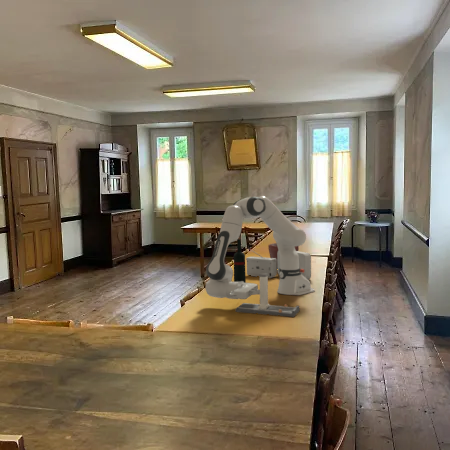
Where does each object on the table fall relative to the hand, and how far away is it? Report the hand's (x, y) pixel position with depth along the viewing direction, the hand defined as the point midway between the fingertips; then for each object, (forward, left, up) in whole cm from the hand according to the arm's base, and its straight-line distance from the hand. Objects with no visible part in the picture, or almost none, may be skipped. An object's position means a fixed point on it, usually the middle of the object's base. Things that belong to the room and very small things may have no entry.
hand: (260, 292), depth 230 cm
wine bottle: (-26, -64, -10) cm, 70 cm away
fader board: (-2, +3, -9) cm, 10 cm away
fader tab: (-1, +1, -8) cm, 8 cm away
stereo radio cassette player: (-49, -74, -10) cm, 90 cm away
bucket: (-79, -89, -10) cm, 120 cm away
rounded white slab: (-66, -59, -10) cm, 89 cm away
